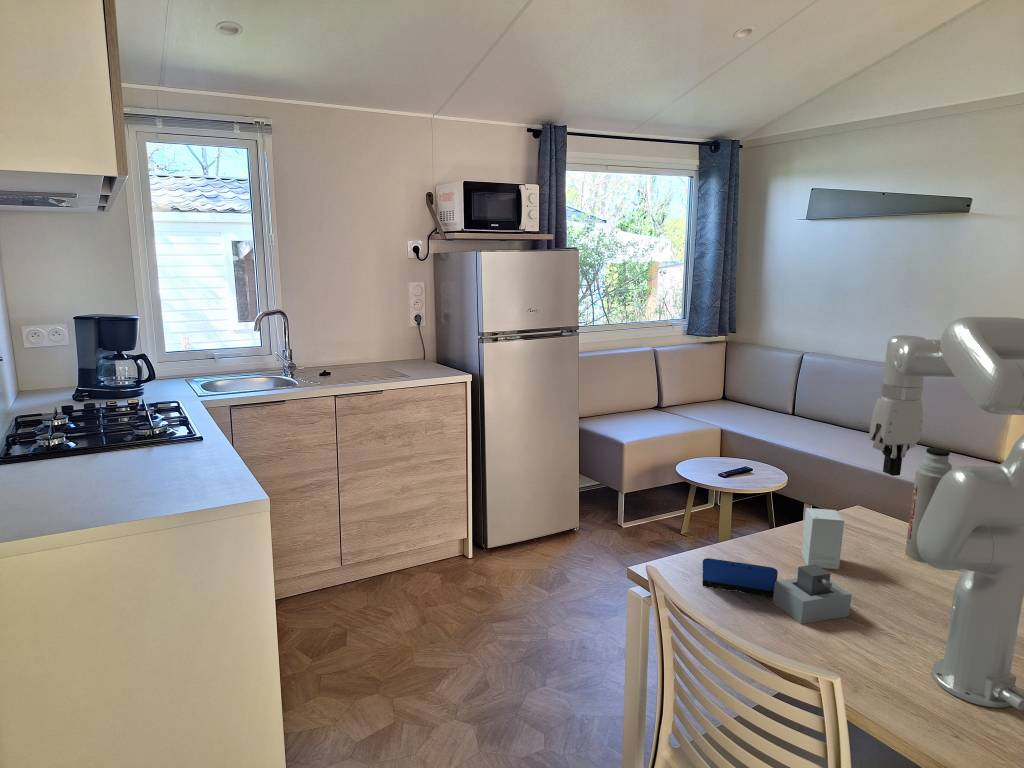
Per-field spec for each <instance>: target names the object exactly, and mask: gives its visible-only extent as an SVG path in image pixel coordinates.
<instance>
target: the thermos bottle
mask: <svg viewBox="0 0 1024 768" xmlns="http://www.w3.org/2000/svg"><path fill="white" fill-rule="evenodd" d="M950 454H951V452H950V450H947V449H943V448H938V447H927V448H926V453H925V457H924V459H920V463H919V467H917V468H916V469H915V475H914V482H913V483H914V484H913V490H912V491H913V492H912V498H911V506H910V514H909V521H908V528H907V534H906V535H907V536H906V545H905V550H904V553H905V555H906V556H908V558H911V559H913V560H915V561H918V562H922V563H926V562H925V561H924V560H923V559H922V558H921V556H920V554H919V552H918V548H917V532H918V528H919V525H920V522H921V520H922V518H923V515H924V513H925V511H926V509H927V507H928V505H929V503H930V500H931V498H932V496H933V494H934V492H935V490H936V488H937V485H938V484H939V482H940V480H941V479H942V477H943V476H944V475H945V474H946V473H947V472H948V471H950V470H952V469H953V466H952V464H951V462H949V457H950Z"/></svg>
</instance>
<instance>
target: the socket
mask: <svg viewBox="0 0 1024 768" xmlns="http://www.w3.org/2000/svg"><path fill="white" fill-rule="evenodd" d="M797 578H798V577H796V578H795V577H794V578H788V579H781V580H777V581H776V582H775V585H774V595H773V598H772V603H773V604H774V605H776V606H777V607H779V608H780V609H781V610H782V611H783V612H784V613H786V614H787V615H789V616H790V617H791V618H793V620H795V621H796V622H797V623H799V624H800V625H804V624H808V623H815V622H821V621H828V620H832V619H833V620H834V619H841V618H845V617H849V616H850V611H851V610H850V609H851V602H852V596H853V595H852V593H850V592H849V591H848V590H846V589H844V588H842V587H841V586H840V585H838V584H836V583H835V582H834V581H832V580H830V583H831V584H832V587H831V588H829V592H828V594H821V595H815V596H809V595H808V594H807V593H805V592H804V591H802V590H801V589H799V588H798V587H797Z"/></svg>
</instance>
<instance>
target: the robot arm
mask: <svg viewBox="0 0 1024 768" xmlns="http://www.w3.org/2000/svg"><path fill="white" fill-rule="evenodd" d="M925 377H926V378H927V377H928V378H929V377H933V378H934V377H939V378H956V380H957V381H958V383H959V384H960V385H961V388H962V389H964V391H965V392H966V394H967V395H968V397H969V398H970V400H971V401H973V403H974V404H975V405H976V406H977V407H978V408H979V409H980V410H983V411H985V412H986V413H989V414H993V415H994V414H995V415H1003V416H1004V415H1006V416H1007V415H1010V416H1013V415H1015V416H1024V318H1023V317H1013V316H1012V317H1009V316H1008V317H1007V316H1006V317H1005V316H999V317H998V316H965V317H961V318H958V319H956V320H954V321H952V322H951V323H949V324H948V325H947V327H945V329H944V330H943V333H942V335H941V338H940V339H926V338H925V337H922V336H918V335H908V334H907V335H905V334H904V335H903V334H902V335H901V334H900V335H893V336H891V337H889V339H888V341H887V345H886V353H885V361H884V369H883V378H882V386H881V387H882V388H881V395H880V396H881V397H878V398H877V401H876V402H875V406H874V409H873V412H872V417H871V421H870V427H869V432H868V433H869V435H868V437H869V440H870V441H872V442H873V446H872V448H873V449H875V450H877V451H881V452H882V455H883V456H884V458H883V460H884V461H883V467H882V472H883V473H884V474H887V475H890V476H891V477H892V476H893V477H895V476H898V477H899V476H900V475H901V471H902V463H903V459H904V458H905V457H906V453H907V452H908V451H909V450H910V449H913V448H916V447H917V443H918V442H919V441H920V439H921V437H922V436H921V434H922V429H923V428H922V427H923V416H924V414H923V413H924V412H923V400H922V394H923V392H924V387H923V386H924V379H925ZM917 548H918V552H919V554H920V556H921V558H922V559H923V560H924V561H925V562H924V563H926V565H929V566H930V567H932V568H935V569H938V570H943V571H955V572H959V571H961V572H962V573H961V574H960V576H959V578H958V579H957V581H956V584H955V586H954V590H953V591H954V592H953V597H952V603H951V610H950V618H949V623H948V628H947V629H948V630H947V636H946V637H947V638H946V645H945V651H944V657H943V659H939V660H936V661H935V662H934V663H933V664H932V667H931V669H932V670H931V675H932V678H933V680H934V681H935V682H936V683H937V684H938V685H939V686H940V687H941V689H943V690H945V691H946V692H948V693H949V694H951V695H953V696H955V697H957V698H958V699H961V700H963V701H966V702H968V703H972V704H974V705H978V706H983V707H989V708H998V709H999V708H1000V709H1001V708H1007V707H1011V706H1012V707H1014V708H1015V709H1017V710H1018V711H1023V710H1024V690H1022V689H1021V688H1018V687H1017V685H1016V683H1017V682H1016V680H1017V675H1015V674H1014V673H1012V672H1011V671H1012V663H1013V659H1014V651H1015V647H1016V640H1017V636H1018V635H1017V634H1018V628H1019V624H1020V619H1021V616H1020V615H1021V612H1022V606H1023V601H1024V433H1023V434H1022V435H1021V436H1020V437H1019V438H1018V439H1017V440H1016V441H1015V442H1014V444H1013V446H1012V448H1011V449H1010V452H1009V453H1008V455H1007V457H1006V459H1004V461H1003V462H1001V463H999V464H996V465H995V464H994V465H961V466H957V467H953V468H952V470H950V471H948V472H947V473H946V474H945V475H944V476H943V477H942V479H941V480H940V482H939V484H938V485H937V488H936V490H935V492H934V494H933V496H932V498H931V500H930V503H929V505H928V507H927V509H926V511H925V513H924V515H923V518H922V520H921V522H920V525H919V528H918V532H917Z"/></svg>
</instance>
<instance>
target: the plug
mask: <svg viewBox="0 0 1024 768" xmlns="http://www.w3.org/2000/svg"><path fill="white" fill-rule="evenodd" d="M797 568H798V569H797V577H796V578H797V587H798V588H799V589H801V590H802V591H804V592H805V593H807V594H808V595H809V596H815V595H821V594H828V592H829V588H831V587H832V584H831V583H830V581H831V573H830V572H829V571H827V570H826V569H825V568H821V567H819V566H818V565H816V564H815V565H808V566H807V565H802V566H801V565H800V566H798V567H797Z"/></svg>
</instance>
